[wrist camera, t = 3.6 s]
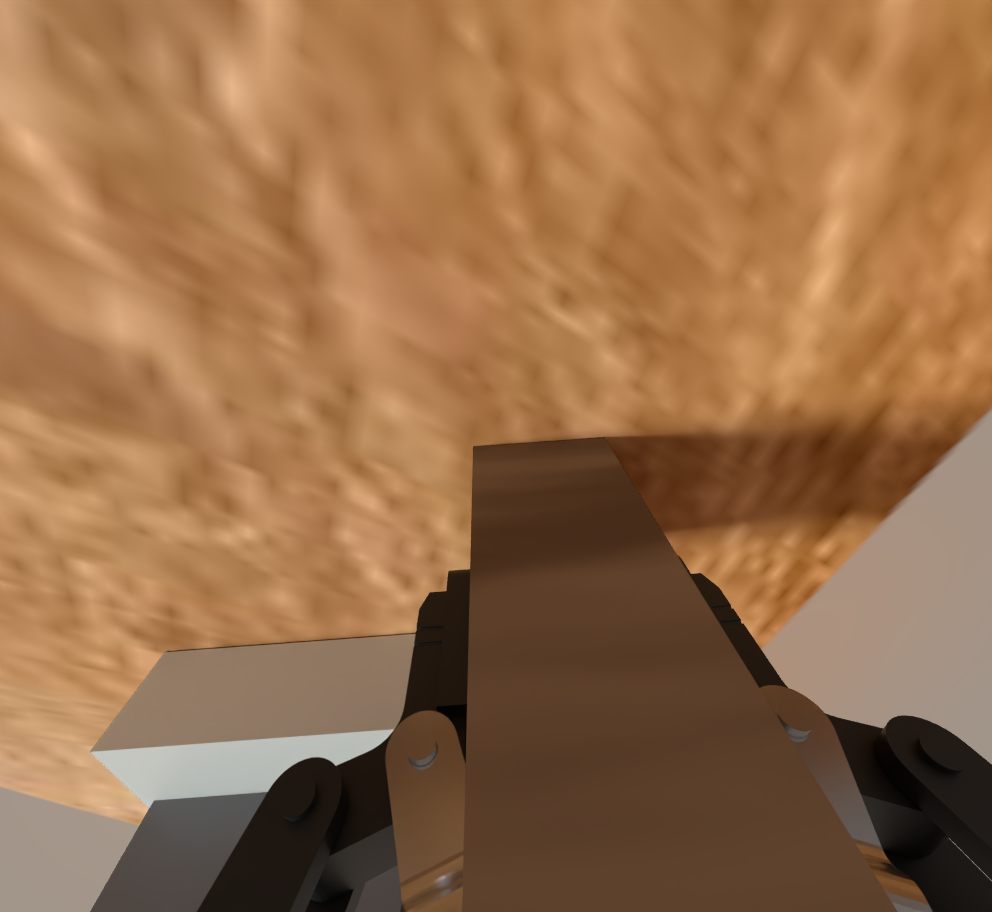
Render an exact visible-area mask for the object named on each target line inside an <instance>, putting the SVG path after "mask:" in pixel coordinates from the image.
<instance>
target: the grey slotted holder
mask: <svg viewBox="0 0 992 912" xmlns="http://www.w3.org/2000/svg"><path fill="white" fill-rule="evenodd" d="M415 635H416V634H406V635H392V636H379V637H365V638H352V639H338V640H324V641H311V642H297V643H284V644H270V645H257V646H243V647H229V648H216V649H202V650H189V651H175V652H164V654H163V655H162V656H161V658H160V659H159V660H158V662H157V663H156V664H155V666H154V667H153V668H152V670H151V671H150V672H149V674H148V675H147V676H146V678H145V679H144V680H143V682H142V683H141V684H140V686H139V687H138V688H137V690H136V691H135V692H134V694H133V695H132V696H131V698H130V699H129V700H128V702H127V703H126V704H125V706H124V707H123V708H122V710H121V711H120V712H119V714H118V715H117V716H116V718H115V719H114V720H113V722H112V723H111V724H110V726H109V727H108V728H107V730H106V731H105V732H104V734H103V735H102V736H101V738H100V739H99V740H98V742H97V743H96V744H95V746H94V747H93V748H92V750H91V751H90V753H91V754H93V755H94V756H95V757H96V758H97V759H98V760H99V761H100V762H101V763H102V764H103V765H104V766H105V767H106V768H107V769H108V770H109V771H110V772H111V773H112V774H114V775H115V776H116V777H117V778H118V779H119V780H120V781H121V782H122V783H123V784H124V785H125V786H126V787H127V788H128V789H129V790H130V791H131V792H132V793H133V794H134V795H136V796H137V797H138V798H139V799H140V800H141V801H142V802H143V803H144V804H145V805H146V806H147V807H148V808H149V810H148V812H147V813H146V815H145V817H144V819H143V820H142V822H141V824H140V826H139V827H138V829H137V831H136V833H135V834H134V836H133V838H132V840H131V842H130V843H129V845H128V847H127V848H126V850H125V852H124V854H123V855H122V857H121V859H120V861H119V862H118V864H117V866H116V868H115V869H114V871H113V873H112V875H111V876H110V878H109V880H108V882H107V883H106V885H105V887H104V889H103V890H102V892H101V894H100V896H99V898H98V899H97V901H96V903H95V904H94V906H93V908H92V910H91V911H90V912H197V910H198V909H199V907H200V905H201V904H202V902H203V900H204V898H205V897H206V895H207V893H208V892H209V890H210V888H211V887H212V885H213V883H214V882H215V880H216V878H217V877H218V875H219V873H220V871H221V870H222V868H223V866H224V865H225V863H226V861H227V860H228V858H229V856H230V855H231V853H232V851H233V849H234V848H235V846H236V844H237V843H238V841H239V839H240V838H241V836H242V834H243V833H244V831H245V829H246V828H247V826H248V824H249V822H250V821H251V819H252V817H253V816H254V814H255V812H256V811H257V809H258V807H259V806H260V804H261V802H262V800H263V799H264V797H265V795H266V794H267V792H268V791H269V789H270V788H271V786H272V785H273V783H274V782H275V781H276V780H277V778H278V777H279V776H280V775H281V774H282V773H283V772H284V771H286V770H287V769H288V768H290V767H291V766H292V765H294V764H296V763H297V762H300V761H302V760H304V759H308V758H312V757H321V758H325V759H328V760H330V761H331V762H333V763H334V764H335V766H337V765H339V764H341V763H343V762H346V761H348V760H350V759H352V758H355V757H357V756H359V755H361V754H364V753H366V752H368V751H370V750H372V749H374V748H375V747H377V746H378V745H380V744H381V743H382V742H383V741H385V740H386V739H387V738H388V737H389V735H390V734H391V733H392V732H393V731H394V729H395V728H396V726H397V725H398V723H399V721H400V719H401V716H402V713H403V709H404V705H405V698H406V692H407V685H408V679H409V673H410V666H411V660H412V654H413V647H414V641H415ZM401 905H402V900H401V887H400V879H399V870H398V865H397V866H395V867H393V868H391V869H389V870H388V871H386V872H384V873H382V874H380V875H378V876H376V877H375V878H373V879H371V880H369V881H367V882H366V883H365V886H364V889H363V891H362V894H361V897H360V900H359V902H358V905H357V908H356V911H355V912H400V911H401Z"/></svg>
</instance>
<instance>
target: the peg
mask: <svg viewBox="0 0 992 912" xmlns="http://www.w3.org/2000/svg"><path fill="white" fill-rule="evenodd" d="M462 912H898V911H897V910H896V908H895V907H894V905H893V903H892V902H891V900H890V899H889V897H888V895H887V894H886V892H885V890H884V889H883V887H882V886H881V884H880V882H879V881H878V879H877V878H876V876H875V874H874V873H873V871H872V869H871V868H870V866H869V865H868V863H867V861H866V860H865V858H864V857H863V855H862V853H861V852H860V850H859V848H858V847H857V845H856V844H855V842H854V840H853V839H852V837H851V835H850V834H849V832H848V831H847V829H846V827H845V826H844V824H843V823H842V821H841V819H840V818H839V816H838V814H837V813H836V811H835V810H834V808H833V806H832V805H831V803H830V802H829V800H828V798H827V797H826V795H825V793H824V792H823V790H822V789H821V787H820V785H819V784H818V782H817V780H816V779H815V777H814V776H813V774H812V772H811V771H810V769H809V768H808V766H807V764H806V763H805V761H804V759H803V758H802V756H801V755H800V753H799V751H798V750H797V748H796V747H795V745H794V743H793V742H792V740H791V738H790V737H789V735H788V734H787V732H786V730H785V729H784V727H783V726H782V724H781V722H780V721H779V719H778V717H777V716H776V714H775V713H774V711H773V709H772V708H771V706H770V704H769V703H768V701H767V700H766V698H765V696H764V695H763V693H762V692H761V690H760V688H759V687H758V685H757V683H756V682H755V680H754V679H753V677H752V675H751V674H750V672H749V671H748V669H747V667H746V666H745V664H744V662H743V661H742V659H741V658H740V656H739V654H738V653H737V651H736V650H735V648H734V646H733V645H732V643H731V641H730V640H729V638H728V637H727V635H726V633H725V632H724V630H723V628H722V627H721V625H720V624H719V622H718V620H717V619H716V617H715V616H714V614H713V612H712V611H711V609H710V607H709V606H708V604H707V603H706V601H705V599H704V598H703V596H702V595H701V593H700V591H699V590H698V588H697V586H696V585H695V583H694V582H693V580H692V578H691V577H690V575H689V573H688V572H687V570H686V569H685V567H684V565H683V564H682V562H681V561H680V559H679V557H678V556H677V554H676V552H675V551H674V549H673V548H672V546H671V544H670V543H669V541H668V540H667V538H666V536H665V535H664V533H663V531H662V530H661V528H660V527H659V525H658V523H657V522H656V520H655V519H654V517H653V515H652V514H651V512H650V510H649V509H648V507H647V506H646V504H645V502H644V501H643V499H642V497H641V496H640V494H639V493H638V491H637V489H636V488H635V486H634V485H633V483H632V481H631V480H630V478H629V476H628V475H627V473H626V472H625V470H624V468H623V467H622V465H621V464H620V462H619V460H618V459H617V457H616V455H615V454H614V452H613V451H612V449H611V447H610V446H609V444H608V442H607V441H606V439H605V438H604V437H602V438H588V439H574V440H560V441H546V442H532V443H519V444H505V445H491V446H477V447H473V477H472V520H471V562H470V604H469V646H468V688H467V730H466V772H465V814H464V856H463V898H462Z"/></svg>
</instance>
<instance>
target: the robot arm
mask: <svg viewBox="0 0 992 912" xmlns="http://www.w3.org/2000/svg"><path fill="white" fill-rule="evenodd" d="M677 556H678V555H677ZM678 557H679V556H678ZM679 559H680V561H681V562H682V564H683V565H684V567H685V569H686V570H687V572H688V573H689V575H690V577H691V578H692V580H693V582H694V583H695V585H696V586H697V588H698V590H699V591H700V593H701V595H702V596H703V598H704V599H705V601H706V603H707V604H708V606H709V607H710V609H711V611H712V612H713V614H714V616H715V617H716V619H717V620H718V622H719V624H720V625H721V627H722V628H723V630H724V632H725V633H726V635H727V637H728V638H729V640H730V641H731V643H732V645H733V646H734V648H735V650H736V651H737V653H738V654H739V656H740V658H741V659H742V661H743V662H744V664H745V666H746V667H747V669H748V671H749V672H750V674H751V675H752V677H753V679H754V680H755V682H756V683H757V685H758V687H759V688H760V690H761V692H762V693H763V695H764V696H765V698H766V700H767V701H768V703H769V704H770V706H771V708H772V709H773V711H774V713H775V714H776V716H777V717H778V719H779V721H780V722H781V724H782V726H783V727H784V729H785V730H786V732H787V734H788V735H789V737H790V738H791V740H792V742H793V743H794V745H795V747H796V748H797V750H798V751H799V753H800V755H801V756H802V758H803V759H804V761H805V763H806V764H807V766H808V768H809V769H810V771H811V772H812V774H813V776H814V777H815V779H816V780H817V782H818V784H819V785H820V787H821V789H822V790H823V792H824V793H825V795H826V797H827V798H828V800H829V802H830V803H831V805H832V806H833V808H834V810H835V811H836V813H837V814H838V816H839V818H840V819H841V821H842V823H843V824H844V826H845V827H846V829H847V831H848V832H849V834H850V835H851V837H852V839H853V840H854V842H855V844H856V845H857V847H858V848H859V850H860V852H861V853H862V855H863V857H864V858H865V860H866V861H867V863H868V865H869V866H870V868H871V869H872V871H873V873H874V874H875V876H876V878H877V879H878V881H879V882H880V884H881V886H882V887H883V889H884V890H885V892H886V894H887V895H888V897H889V899H890V900H891V902H892V903H893V905H894V907H895V908H896V910H897V911H898V912H992V881H991V880H992V764H990V763H989V762H988V761H987V760H985V759H984V758H983V757H982V756H980V755H979V754H978V753H977V752H976V751H974V750H973V749H972V748H971V747H970V746H968V745H967V744H966V743H965V742H963V741H962V740H961V739H959V738H958V737H957V736H955V735H954V734H952V733H951V732H949V731H947V730H946V729H944V728H942V727H940V726H939V725H937V724H934V723H932V722H930V721H927V720H924V719H922V718H918V717H914V716H897V717H894V718H892V719H891V720H889V722H888V723H887V725H886V726H885V727H884V729H883V728H878V727H875V726H870V725H866V724H862V723H858V722H854V721H849V720H845V719H841V718H837V717H834V716H830V715H828V714H826V713H824V712H823V711H822V710H821V709H820V708H819V707H818V706H817V705H816V704H815V703H814V702H812V701H811V700H810V699H808V698H807V697H805V696H804V695H802V694H800V693H798V692H797V691H795V690H792V689H789V688H788V687H787V686H786V685H785V684H784V682H783V681H782V680H781V678H780V677H779V675H778V674H777V672H776V671H775V669H774V668H773V666H772V665H771V664H770V662H769V661H768V659H767V658H766V656H765V655H764V653H763V652H762V650H761V649H760V647H759V646H758V644H757V643H756V641H755V640H754V638H753V637H752V635H751V634H750V633H749V631H748V630H747V628H746V627H745V625H744V624H742V623H741V619H740V618H739V616H738V615H737V613H736V612H735V611H734V609H732V608H731V605H730V603H729V602H728V600H727V599H726V597H725V596H724V594H723V593H722V591H721V590H720V588H719V587H717V586H716V585H715V584H714V583H712V582H711V581H710V580H709V579H707V578H706V577H705V576H704V575H702V574H701V573H698V574H691V573H690V572H689V570H688V569H687V567H686V565H685V564H684V562H683V561H682V559H681V558H680V557H679ZM469 604H470V569H468V570H454V571H449V572H448V581H447V591H443V592H430V593H429V595H428V596H427V598H426V599H425V601H424V603H423V604H422V606H421V607H420V609H419V616H418V622H417V631H416V635H415V641H414V647H413V654H412V660H411V666H410V673H409V679H408V685H407V692H406V698H405V705H404V709H403V713H402V716H401V719H400V721H399V723H398V725H397V726H396V728H395V729H394V731H393V732H392V733H391V734H390V735H389V737H388V738H387V739H386V740H385V741H383V742H382V743H381V744H380V745H378V746H377V747H375V748H374V749H372V750H370V751H368V752H366V753H364V754H361V755H359V756H357V757H355V758H352V759H350V760H348V761H346V762H343V763H341V764H339V765H337V766H335V764H334V763H333V762H331V761H330V760H328V759H325V758H321V757H312V758H308V759H304V760H302V761H300V762H297V763H296V764H294V765H292V766H291V767H290V768H288V769H287V770H286V771H284V772H283V773H282V774H281V775H280V776H279V777H278V778H277V780H276V781H275V782H274V783H273V785H272V786H271V788H270V789H269V791H268V792H267V794H266V795H265V797H264V799H263V800H262V802H261V804H260V806H259V807H258V809H257V811H256V812H255V814H254V816H253V817H252V819H251V821H250V822H249V824H248V826H247V828H246V829H245V831H244V833H243V834H242V836H241V838H240V839H239V841H238V843H237V844H236V846H235V848H234V849H233V851H232V853H231V855H230V856H229V858H228V860H227V861H226V863H225V865H224V866H223V868H222V870H221V871H220V873H219V875H218V877H217V878H216V880H215V882H214V883H213V885H212V887H211V888H210V890H209V892H208V893H207V895H206V897H205V898H204V900H203V902H202V904H201V905H200V907H199V909H198V910H197V912H355V911H356V908H357V905H358V902H359V900H360V897H361V894H362V891H363V889H364V886H365V883H366V882H367V881H369V880H371V879H373V878H375V877H376V876H378V875H380V874H382V873H384V872H386V871H388V870H389V869H391V868H393V867H395V866H397V865H398V870H399V879H400V887H401V900H402V905H401V911H400V912H462V898H463V856H464V814H465V772H466V730H467V688H468V646H469ZM949 838H950V839H951V840H952V841H953V842H954V843H955V844H956V845H957V846H958V847H959V848H960V849H961V850H962V851H963V852H964V853H965V854H966V855H967V856H968V857H969V858H970V859H971V860H972V861H973V862H974V863H975V864H976V865H977V866H978V867H979V868H980V869H981V870H982V871H983V872H984V873H985V874H986V875H987V876H988V877H989V878H990V879H991V880H990V879H989V878H988V877H987V876H986V875H985V874H984V873H983V872H982V871H981V870H979V868H978V867H977V866H976V865H975V864H973V862H972V861H971V860H970V859H969V858H968V857H967V856H966V855H965V854H964V853H963V852H962V851H961V850H960V849H959V848H958V847H957V846H956V845H955V844H954V843H953V842H952V841H951V840H950V839H949Z"/></svg>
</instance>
